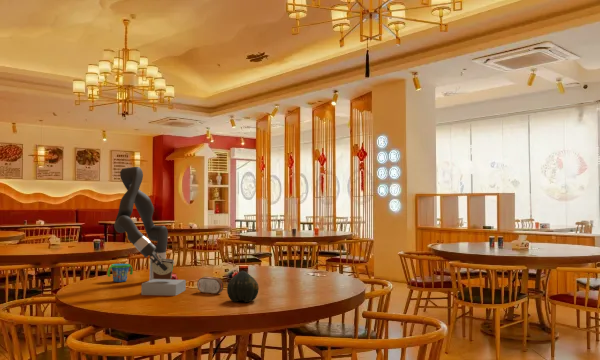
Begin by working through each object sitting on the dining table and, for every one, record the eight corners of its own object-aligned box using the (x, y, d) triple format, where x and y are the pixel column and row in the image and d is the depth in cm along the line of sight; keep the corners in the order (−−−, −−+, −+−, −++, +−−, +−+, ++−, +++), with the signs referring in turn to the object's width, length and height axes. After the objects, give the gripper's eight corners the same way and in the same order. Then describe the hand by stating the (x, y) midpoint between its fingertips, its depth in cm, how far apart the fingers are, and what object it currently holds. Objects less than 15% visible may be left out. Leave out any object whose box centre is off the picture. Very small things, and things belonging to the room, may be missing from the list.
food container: (177, 277, 270) (177, 258, 271) (173, 279, 264) (174, 260, 264) (155, 277, 271) (155, 258, 272) (150, 278, 265) (151, 259, 266)
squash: (241, 294, 233) (254, 267, 242) (217, 292, 240) (230, 266, 250) (256, 311, 241) (268, 284, 250) (231, 308, 249) (244, 283, 258)
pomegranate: (156, 287, 284) (157, 270, 285) (167, 284, 293) (168, 268, 294) (171, 288, 280) (171, 271, 281) (182, 285, 290) (182, 269, 290)
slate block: (153, 290, 276) (153, 279, 276) (185, 291, 274) (185, 279, 274) (141, 295, 260) (141, 283, 260) (175, 296, 258) (175, 284, 259)
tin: (223, 294, 264) (223, 277, 264) (220, 295, 261) (220, 278, 261) (199, 291, 270) (200, 275, 271) (196, 292, 267) (196, 276, 268)
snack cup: (128, 279, 314) (128, 262, 314) (136, 281, 306) (136, 264, 306) (103, 281, 303) (103, 264, 303) (111, 283, 295) (111, 266, 296)
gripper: (147, 242, 260) (170, 265, 261) (152, 240, 275) (174, 262, 275) (136, 252, 260) (159, 276, 260) (142, 250, 274) (164, 272, 275)
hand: (167, 268), depth 268 cm, fingers closed on food container, 6 cm apart
